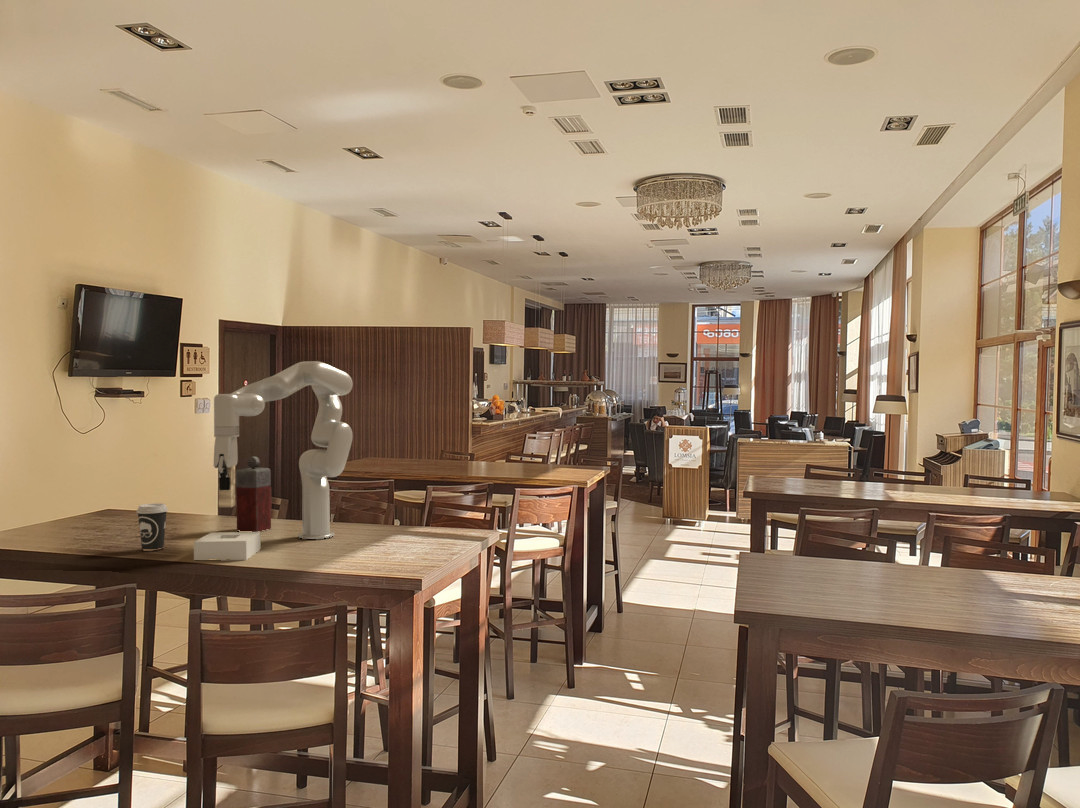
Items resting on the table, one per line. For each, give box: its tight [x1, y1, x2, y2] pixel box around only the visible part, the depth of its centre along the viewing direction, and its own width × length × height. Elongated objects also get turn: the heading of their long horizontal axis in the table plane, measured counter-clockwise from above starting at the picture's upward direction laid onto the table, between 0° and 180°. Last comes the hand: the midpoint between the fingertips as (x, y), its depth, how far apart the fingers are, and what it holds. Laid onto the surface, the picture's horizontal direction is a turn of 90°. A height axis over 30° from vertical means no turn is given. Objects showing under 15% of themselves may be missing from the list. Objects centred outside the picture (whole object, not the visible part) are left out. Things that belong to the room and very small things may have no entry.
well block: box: [193, 531, 262, 561], centre depth 255 cm, size 16×16×6 cm
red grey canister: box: [235, 456, 272, 532], centre depth 300 cm, size 9×11×28 cm
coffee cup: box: [135, 503, 169, 550], centre depth 263 cm, size 10×10×15 cm
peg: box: [217, 462, 236, 508], centre depth 254 cm, size 4×4×15 cm
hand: (226, 488), depth 254 cm, fingers closed on peg, 4 cm apart
